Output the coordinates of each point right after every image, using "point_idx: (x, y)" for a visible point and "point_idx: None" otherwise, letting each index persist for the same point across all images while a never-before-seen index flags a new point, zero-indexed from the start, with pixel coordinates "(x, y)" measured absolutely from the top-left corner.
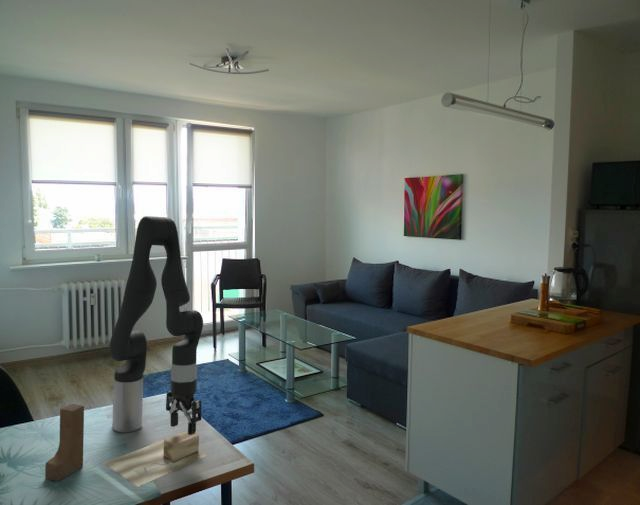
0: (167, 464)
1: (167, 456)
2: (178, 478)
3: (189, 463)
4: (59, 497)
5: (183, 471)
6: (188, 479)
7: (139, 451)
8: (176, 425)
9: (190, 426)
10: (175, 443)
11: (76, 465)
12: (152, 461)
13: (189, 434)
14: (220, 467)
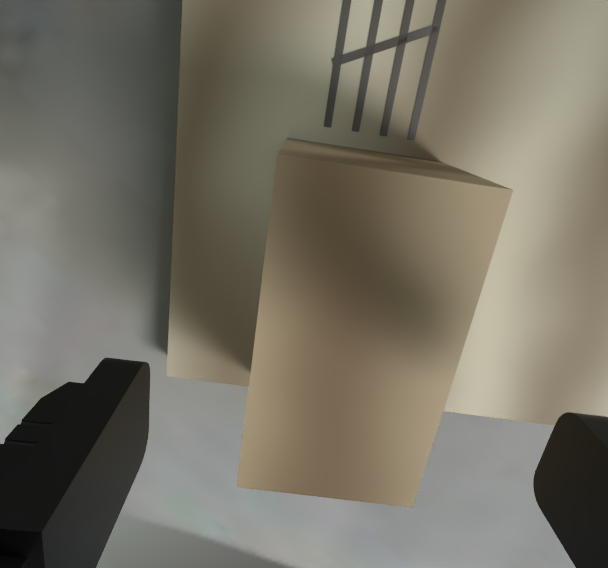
0: (314, 88)
1: (384, 155)
2: (111, 24)
3: (175, 217)
4: None
5: (171, 137)
6: (36, 66)
7: None
8: (537, 467)
9: (33, 474)
10: (295, 200)
11: None
12: (478, 43)
13: (106, 359)
14: (16, 334)
